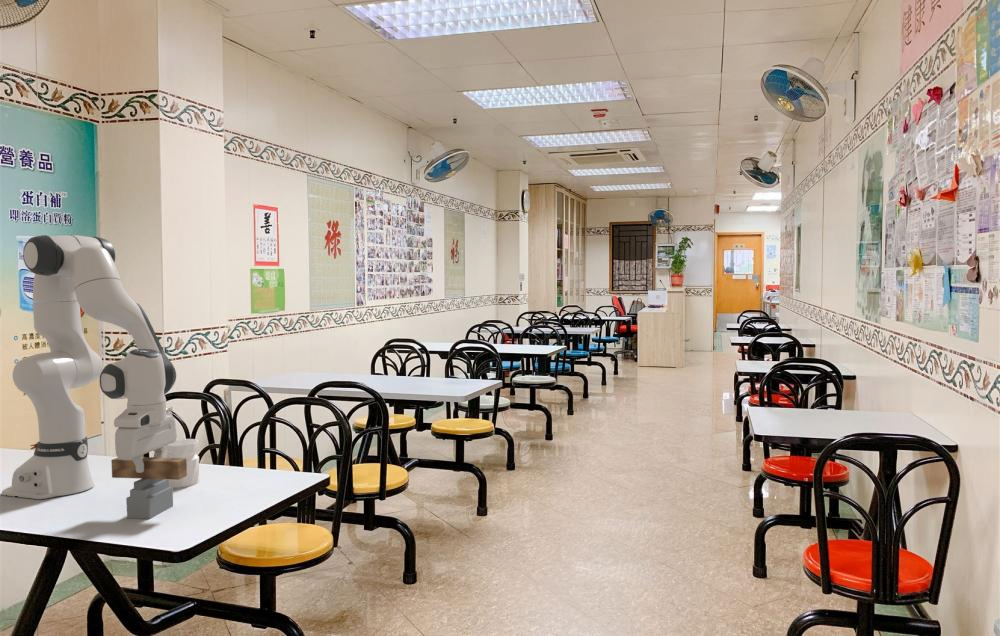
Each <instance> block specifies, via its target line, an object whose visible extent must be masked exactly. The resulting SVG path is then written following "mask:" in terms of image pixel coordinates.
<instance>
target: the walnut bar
mask: <svg viewBox="0 0 1000 636" xmlns="http://www.w3.org/2000/svg"><path fill="white" fill-rule="evenodd" d="M143 457H144V458H143V459H142V460H143V463H144V464H146V471H144V472H142V473H137V472H136V466H135V464H134V462H133V460H132V459H130V460H125V459H119V458H118V457H116V458H112V459H111V460H110V461H111V478H113V479H117V478H118V479H174V480H179V479H181V478H183V477H185V476H187V464H186V458H168V457H162V458H159V457H154V456H153V457H151V456H149V457H148V456H147V457H146V456H143Z"/></svg>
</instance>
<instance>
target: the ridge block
mask: <svg viewBox="0 0 1000 636" xmlns="http://www.w3.org/2000/svg"><path fill="white" fill-rule="evenodd" d="M173 488H174V487H169V479H141V478H139V479H138V480H135V481H134V482H133V488H131V489H130V490H129V496H127V497H126V501H125V502H126V518H127V519H142V520H143V519H145V520H146V519H147V520H150V519H152V518H154V517H156V516H157V515H159V514H162V513H163V512H165V511H167V510H169V509H170V508H172V507H173V506H174V491H173V490H174V489H173Z"/></svg>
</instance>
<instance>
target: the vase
mask: <svg viewBox="0 0 1000 636" xmlns="http://www.w3.org/2000/svg"><path fill="white" fill-rule="evenodd" d="M164 451H165V453H166V454H167V455H168V456H169V457H167V458H186V464H187V476H185V477H183V478H181V479H179V480H174V479H169V487H173V488H187V487H192V486H194V485H197V484H199V483H200V482H201V481H200V480H201V476H200V456H199V455H198V454H196V452H198V451H199V440H198V439H197V438H196V439H195V438H181V439H176V441H175V442H173V443H171V444H168V445H166V446H164Z"/></svg>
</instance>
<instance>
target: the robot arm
mask: <svg viewBox="0 0 1000 636" xmlns="http://www.w3.org/2000/svg"><path fill="white" fill-rule="evenodd" d="M22 251H23V253H22V257H23V263H24V265H25V266H26V268H27V269H28V270H29V272H31V273H32V274H34V276H33V283H32V285H33V286H32V308H33V309H32V310H33V311H32V312H33V327H34V328H33V329H34V330H35V332H36V333H37V334H38V335H39V336H42V337H43V338H44V339H45V340H46V342H47V344H48V346H49V350H50V351H48V352H41V353H36V354H32V355H29V356H27V357H25V358H23V359H20V360H19V361H18V362H17V363H16V364H15V365H14V367H13V370H12V380H13V383H14V385H15V387H16V388H17V389H18V390H19V391H21V393H23V394H25V395H26V396H27V397H28V398H29V399H30V401H31V403H32V405H33V407H34V410H35V413H36V416H37V423H38V426H37V427H38V437H39V438H38V440H39V441H38V442H36V443H35V444H30V447H31V448H30V450H33V449H34V452H33V455H31V457H30V458H28V459H27V460H26V461H25V462H24V463H22V464H20V466H18V467H17V468H16V469H15V470H14V472H12V473H13V474H12V478H11V485H10V486H8V487H6V488H5V489H3V490H2V491H1V496H6V495H7V496H9V497H15V496H18V497H17V498H25V499H34V500H46V499H49V498H54V497H62V496H68V495H69V496H70V495H73V494H78V493H81V492H86V491H88V490H90V489H92V488H94V486H95V483H94V481H93V478H92V475H91V470H90V467H89V461H88V450H89V443H88V441H89V440H88V437H87V436H86V416H85V411H84V408H83V407H82V406H81V405H78V404H76V403H75V402H74V401H73V398H72V396H71V393H70V390H71V389H74V388H75V389H76V388H81V387H85V386H86V385H89V384H91V383H93V382H95V381H97V380H99V386H100V390H101V392H102V393H103V394H104V395H105V396H106V397H108V398H109V399H111V400H124V399H127V402H126V409H124V410H123V411H122V413H121V414H119V415H118V416H117V417H115V418H114V420H113V426H114V428H116V431H115V433H114V446H115V447H114V449H115V456H116V458H119V459H125V460H130V459H132V460H133V462H134V464H135V466H136V472H137V473H142V472H144V471H146V464H144V463H143V460H142V459H143V458H144V457H145V456H144V455H145V454H149V453H150V452H154V453H153V457H159V458H163V454H164V451H165V446H166V445H168V444H171V443H173V442H175V441H176V440H177V437H178V434H177V427H176V420H175V416H173V412H172V411H171V410H170V409H169V408H168V407H167V398H166V394H167V393H168V392H169V391H170V390H171V389H172V388H173V386H174V385H175V383H176V380H177V371H176V368H175V366H174V364H173V363H172V361H171V360H170V358H169V357H168V356H167V354H166V353H165V351H164V348H163V346H162V345H161V343H160V340H159V338H158V336H157V334H156V332H155V330H154V328H153V325H152V323H151V321H150V319H149V317H148V315H147V314H146V312H145V310H144V309H143V307H142V306H141V305H140V304H139V303H137V302H136V301H135V300H133V299H132V298H131V296H130V295H129V294H128V292H127V291H126V289H125V287H124V284H123V282H122V278H121V276H120V273H119V271H118V268H117V265H116V263H115V262H116V251H115V247H114V246H113V244H112V243H111V242H110V241H109V240H107V239H105V238H102V237H98V236H92V237H91V236H86V235H77V234H76V235H75V234H68V235H65V234H64V235H45V234H44V235H43V234H42V235H37V236H36V235H35V236H33V237H30V238H29V239H28V240H27V241H26V243H25V244H24V246H23V250H22ZM81 310H82V312H84V313H85V314H86V315H88V316H89V317H91V318H92V319H95V320H97V321H100V322H105V323H109V324H110V325H111V324H112V325H113V326H114V325H115V326H117V327H120V328H121V329H123V330H125V331H126V332H128V334H129V335H131V336H130V337H132V339H133V342H134V343H135V346H136V348H135V349H132V350H129V351H128V353H127V354H126V356H125V357H123V358H122V359H119V360H116V361H114V362H111V363H107V365H105V366H103V365H104V364H103V361H102V358H101V356H100V355H99V353H97V352H95V351H94V350H93V349H92V348H91V346H90V344H88V342H87V340H86V337H85V334H84V331H83V327H82V326H83V325H82V318H81V317H82V316H81ZM7 496H6V497H7Z"/></svg>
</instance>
